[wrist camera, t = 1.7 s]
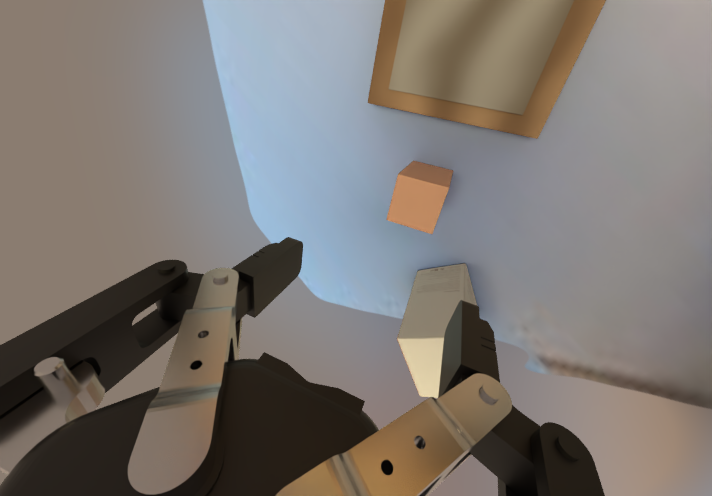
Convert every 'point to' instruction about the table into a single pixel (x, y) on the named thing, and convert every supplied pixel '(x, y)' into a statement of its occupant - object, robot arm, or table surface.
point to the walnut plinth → (480, 58)
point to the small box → (431, 322)
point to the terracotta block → (419, 196)
